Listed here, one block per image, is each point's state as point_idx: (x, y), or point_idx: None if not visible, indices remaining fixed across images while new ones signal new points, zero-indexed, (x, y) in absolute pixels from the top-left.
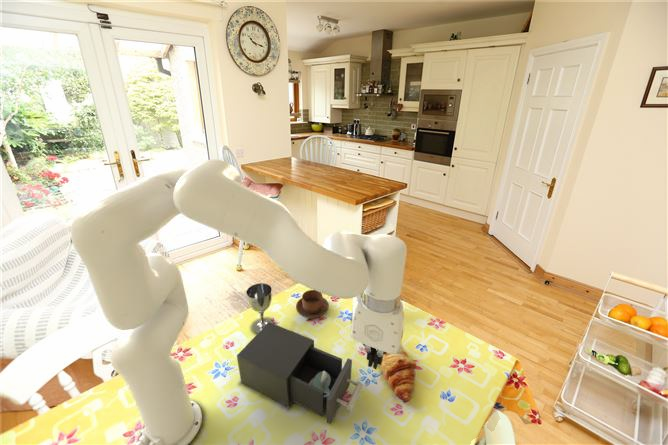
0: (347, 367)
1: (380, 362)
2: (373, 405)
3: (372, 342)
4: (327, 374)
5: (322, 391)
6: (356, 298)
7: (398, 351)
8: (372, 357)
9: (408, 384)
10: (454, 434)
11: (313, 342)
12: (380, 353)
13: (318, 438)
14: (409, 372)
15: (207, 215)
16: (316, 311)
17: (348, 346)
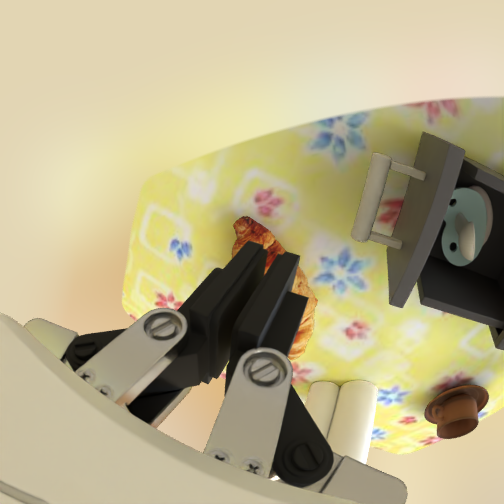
0: (404, 276)
1: (208, 278)
2: (323, 201)
3: (68, 489)
4: (451, 258)
5: (480, 177)
6: (362, 444)
7: (35, 330)
8: (247, 307)
9: None
10: (163, 179)
11: (496, 340)
12: (154, 334)
13: (441, 101)
14: None
15: None
16: (451, 399)
17: (391, 337)
